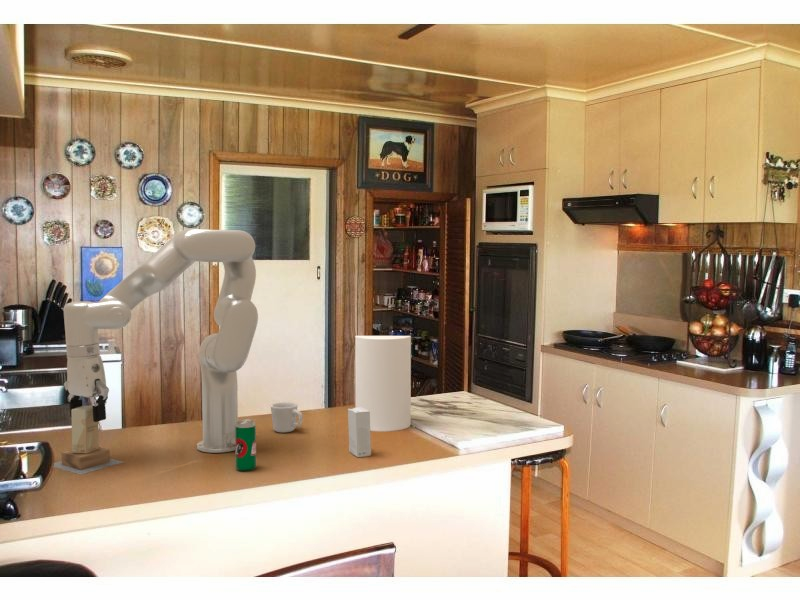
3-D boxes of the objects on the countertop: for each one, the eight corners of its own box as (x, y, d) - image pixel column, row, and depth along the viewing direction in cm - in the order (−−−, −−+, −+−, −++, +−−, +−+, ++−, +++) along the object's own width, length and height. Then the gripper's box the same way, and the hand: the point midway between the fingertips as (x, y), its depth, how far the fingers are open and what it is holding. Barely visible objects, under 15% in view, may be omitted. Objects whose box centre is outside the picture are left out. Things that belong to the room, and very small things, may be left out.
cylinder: (410, 431, 213) (410, 339, 211) (353, 431, 213) (353, 339, 211) (410, 417, 230) (410, 332, 228) (357, 417, 230) (357, 332, 228)
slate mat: (124, 465, 179) (124, 462, 179) (80, 477, 169) (80, 474, 169) (91, 456, 187) (91, 453, 187) (47, 467, 177) (47, 464, 177)
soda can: (256, 471, 174) (255, 423, 174) (235, 472, 173) (234, 424, 173) (256, 465, 179) (255, 418, 179) (235, 466, 178) (235, 419, 177)
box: (86, 454, 175) (85, 410, 174) (71, 453, 176) (70, 409, 175) (100, 448, 180) (98, 405, 179) (85, 447, 181) (84, 404, 180)
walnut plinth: (109, 462, 179) (109, 449, 179) (80, 470, 172) (80, 457, 172) (91, 456, 184) (90, 444, 183) (61, 464, 177) (61, 452, 177)
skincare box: (371, 455, 188) (371, 411, 187) (356, 458, 186) (356, 412, 185) (362, 450, 193) (362, 406, 192) (347, 452, 191) (347, 407, 190)
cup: (310, 431, 213) (310, 405, 213) (292, 436, 206) (292, 410, 206) (283, 426, 219) (283, 400, 218) (265, 431, 212) (265, 405, 212)
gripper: (117, 351, 174) (122, 418, 176) (77, 346, 184) (81, 411, 185) (90, 355, 168) (95, 426, 170) (49, 351, 178) (54, 417, 179)
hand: (88, 418), depth 178 cm, fingers open, 9 cm apart
